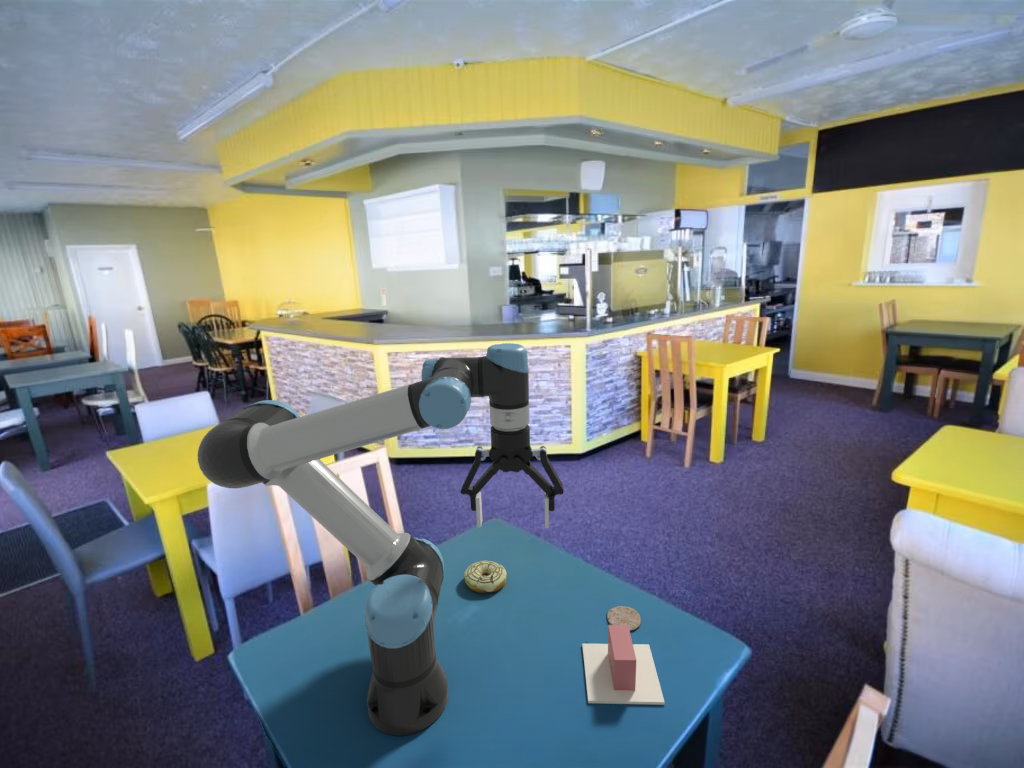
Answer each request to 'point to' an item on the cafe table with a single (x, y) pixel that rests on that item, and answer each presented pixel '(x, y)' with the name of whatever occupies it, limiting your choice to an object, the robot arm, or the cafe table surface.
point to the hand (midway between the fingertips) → (513, 524)
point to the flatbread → (624, 617)
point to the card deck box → (621, 657)
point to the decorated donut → (485, 576)
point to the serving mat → (602, 681)
